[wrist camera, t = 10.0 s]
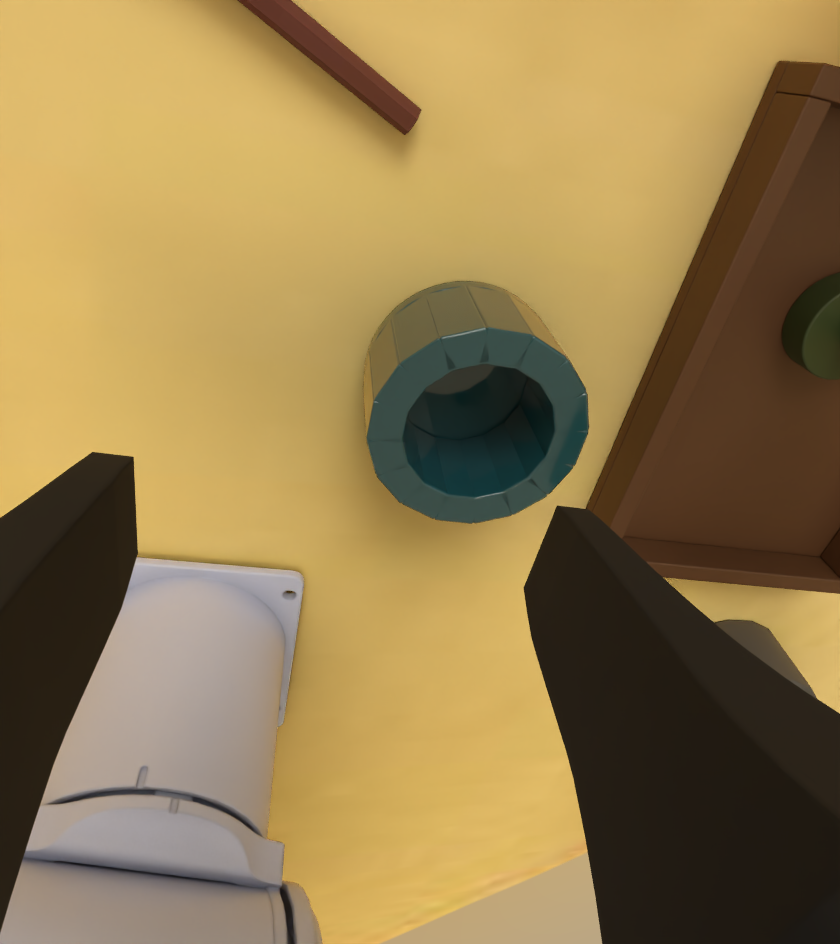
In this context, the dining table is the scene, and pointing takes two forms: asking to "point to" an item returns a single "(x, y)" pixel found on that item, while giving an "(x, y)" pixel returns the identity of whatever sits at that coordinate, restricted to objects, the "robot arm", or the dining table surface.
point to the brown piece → (336, 60)
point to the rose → (816, 329)
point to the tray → (744, 373)
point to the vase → (470, 404)
